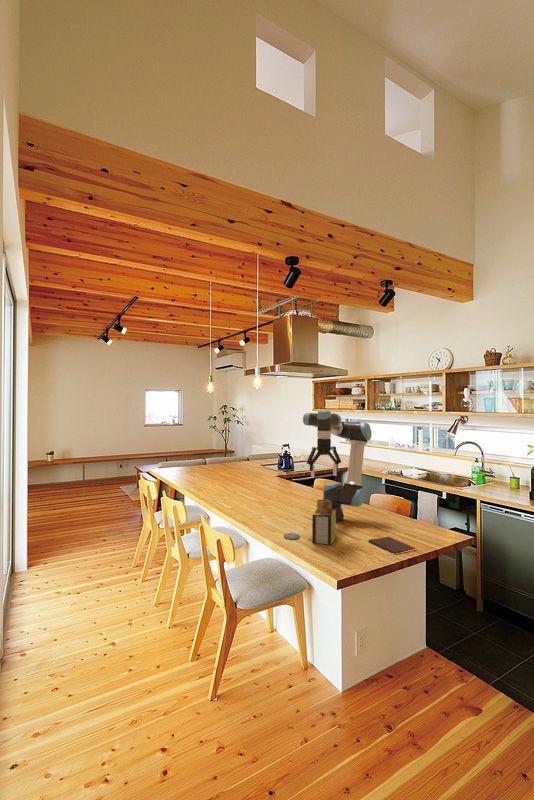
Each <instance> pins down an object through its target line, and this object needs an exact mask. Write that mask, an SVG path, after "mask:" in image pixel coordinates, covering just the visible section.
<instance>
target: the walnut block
mask: <svg viewBox="0 0 534 800" xmlns="http://www.w3.org/2000/svg"><path fill="white" fill-rule="evenodd" d="M316 500H317V501H316V510H317V511H319V512H320V513H332V502H331V501H330V500H328V499H316Z"/></svg>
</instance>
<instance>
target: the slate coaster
mask: <svg viewBox="0 0 534 800" xmlns="http://www.w3.org/2000/svg"><path fill="white" fill-rule="evenodd" d="M283 538H284V539H285V540H289V541H293V540H294V541H296V540H299V539H300V538H301V535H300V534H298V533H295V532H289V533H288V532H287V533H285V534H283Z"/></svg>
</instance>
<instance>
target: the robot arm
mask: <svg viewBox="0 0 534 800" xmlns="http://www.w3.org/2000/svg"><path fill="white" fill-rule="evenodd" d="M302 422H303V424H304V426H308V427H310V426H312V427H315V428H317V433H316V435H317V442H316V444H317V446H316V447H315V446H312V447H311V451H310V454H309V455H308V458H307V461H306V462H305V463H306V464H307V465H309V471H310V477H312V478H315V463H316V461H317V460H318V459H319V457H320V456H327V455H328V456H329V458H330V459H331V460H332V461H333V462H334V463H333V464H332V467H333V468H332V469H333V470H332V471H333V472H332V474H333V476H334V477H337V474H338V473H337V472H338V470H339V464H341V463H342V460H341V458H340V454H338V451H337V447H336V446H334V445H332V439H331V438H332V435H333V436H336V437H338V438H342V439H345V440H348V442H349V444H350V452H349V461H348V468H347V477H346V481H345V482H344V483H341V482H336V481H334V482H327V483H324V485H323V489H322V491H323V496H322V497H323V499H328V500H330V501H331V502H332V509H336V523H337V522H342V521H344V520H345V515H344V511H343V508H342V505H344V506H349V507H353V508H354V507H356V508H357V507H358V508H359V507H361V506H363V504H364V502H365V499H366V489H364V488H363V484H362V482H361V481H362V474H363V472H362V471H363V464H364V463H363V462H364V453H365V446H366V445H367V444H368V441H370V440H371V439H372V428H371V426H370V424H369V423H368V422H365V421H364V422H363V421H342V417H341V416H340V414H338V413H335V412H334V413H332V411H330V410H318V411H317V412H315V413H313V412H306V413H304V414H303V416H302ZM332 452H333V453H332Z"/></svg>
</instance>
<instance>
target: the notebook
mask: <svg viewBox="0 0 534 800" xmlns="http://www.w3.org/2000/svg"><path fill="white" fill-rule="evenodd" d="M368 543H369V544H371V545H374V546H376V547H378V548H380V549H382V550H384V551H386V550H387V551H386V552H388V551H389V552H388V553H390V552H391V553H390V554H392V553H394V554H396V553H401V552H404V551H408V550H412V549H415V548H416V547H414V546H412V545H409V544H407V543H405V542H402V541H400V540H397V539H395V538H393V537H391V536H385V537H379V538H371V539H368ZM394 554H393V555H394ZM401 554H402V553H401ZM396 555H397V554H396Z"/></svg>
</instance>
